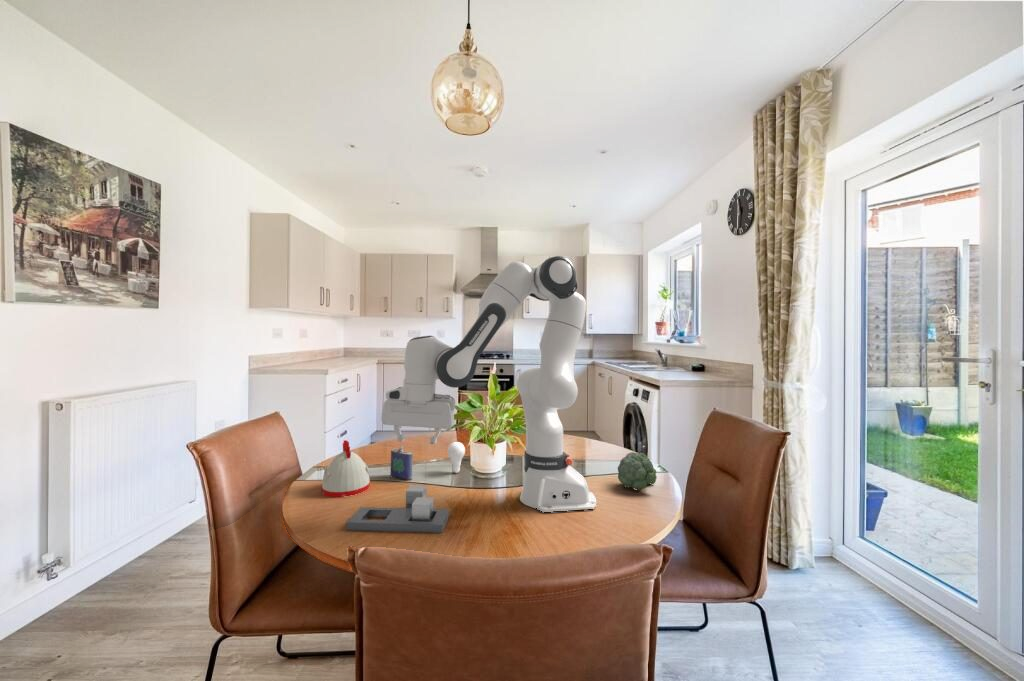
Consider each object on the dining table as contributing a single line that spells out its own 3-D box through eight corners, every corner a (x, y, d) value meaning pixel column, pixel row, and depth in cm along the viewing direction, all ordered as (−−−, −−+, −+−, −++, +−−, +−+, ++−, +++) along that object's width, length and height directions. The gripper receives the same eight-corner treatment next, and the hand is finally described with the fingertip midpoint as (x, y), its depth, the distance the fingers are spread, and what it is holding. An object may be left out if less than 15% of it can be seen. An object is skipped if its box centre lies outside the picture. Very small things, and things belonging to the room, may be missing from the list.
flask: (413, 478, 136) (414, 447, 136) (407, 481, 134) (408, 449, 134) (394, 474, 141) (394, 443, 141) (387, 476, 138) (388, 445, 138)
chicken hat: (363, 478, 136) (364, 434, 136) (374, 491, 125) (375, 443, 125) (318, 486, 129) (319, 439, 128) (325, 501, 117) (326, 449, 117)
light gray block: (433, 520, 105) (433, 497, 105) (429, 528, 101) (429, 504, 101) (416, 520, 106) (416, 497, 106) (411, 528, 101) (411, 504, 101)
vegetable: (675, 484, 128) (649, 471, 120) (644, 506, 132) (617, 494, 125) (657, 453, 137) (631, 439, 130) (629, 474, 142) (603, 462, 134)
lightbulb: (457, 477, 138) (457, 445, 138) (443, 473, 142) (444, 442, 142) (468, 472, 144) (468, 441, 144) (455, 469, 147) (455, 439, 147)
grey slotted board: (449, 516, 108) (449, 509, 108) (442, 532, 99) (442, 524, 99) (360, 514, 108) (360, 507, 108) (346, 530, 99) (346, 522, 99)
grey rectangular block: (426, 506, 114) (426, 485, 114) (422, 513, 110) (422, 491, 110) (410, 506, 114) (410, 485, 114) (405, 513, 110) (406, 491, 110)
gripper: (458, 393, 115) (456, 442, 115) (389, 389, 117) (387, 437, 117) (452, 396, 108) (450, 447, 108) (380, 392, 111) (377, 442, 110)
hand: (417, 442), depth 113 cm, fingers open, 8 cm apart
